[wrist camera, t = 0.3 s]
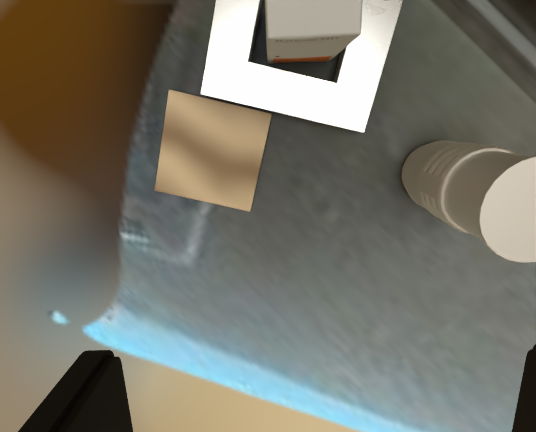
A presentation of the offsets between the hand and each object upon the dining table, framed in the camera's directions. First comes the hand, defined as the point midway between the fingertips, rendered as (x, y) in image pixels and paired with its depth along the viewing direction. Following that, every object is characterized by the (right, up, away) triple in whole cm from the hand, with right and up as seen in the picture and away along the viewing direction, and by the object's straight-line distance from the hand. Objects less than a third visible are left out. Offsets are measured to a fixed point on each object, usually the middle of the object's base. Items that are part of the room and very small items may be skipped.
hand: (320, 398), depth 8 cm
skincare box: (+2, +21, +25) cm, 32 cm away
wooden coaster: (-7, +11, +27) cm, 30 cm away
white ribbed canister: (+15, +9, +28) cm, 33 cm away
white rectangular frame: (+2, +21, +24) cm, 32 cm away
